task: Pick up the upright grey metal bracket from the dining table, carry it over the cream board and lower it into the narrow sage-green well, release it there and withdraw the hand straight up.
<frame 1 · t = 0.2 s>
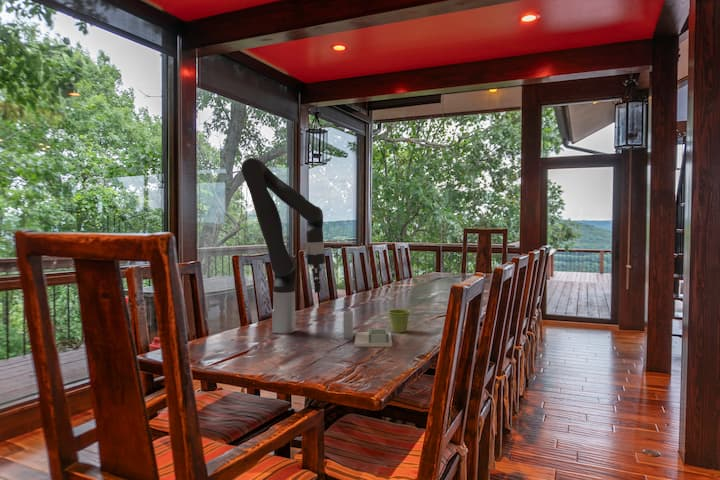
hand: (317, 291, 195), 17 cm above the table, tool pointing down, fingers open, 8 cm apart
well: (373, 340, 179), on the table
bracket: (348, 337, 186), on the table
plant pot: (399, 332, 195), on the table
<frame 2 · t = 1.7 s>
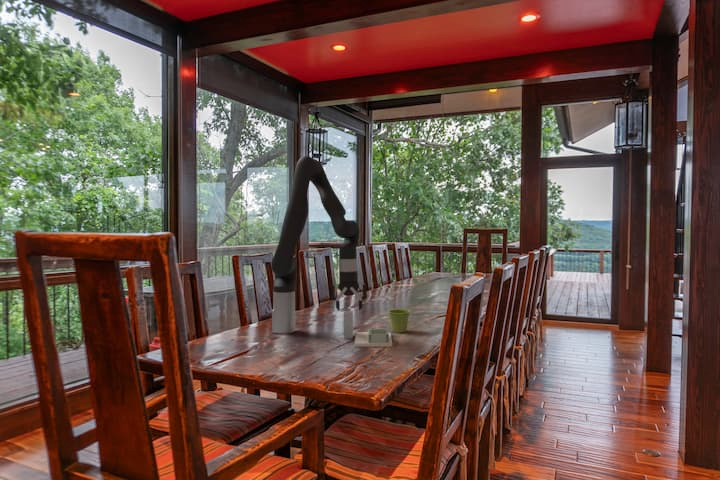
hand: (349, 310, 186), 11 cm above the table, tool pointing down, fingers open, 8 cm apart
nothing on the table moved.
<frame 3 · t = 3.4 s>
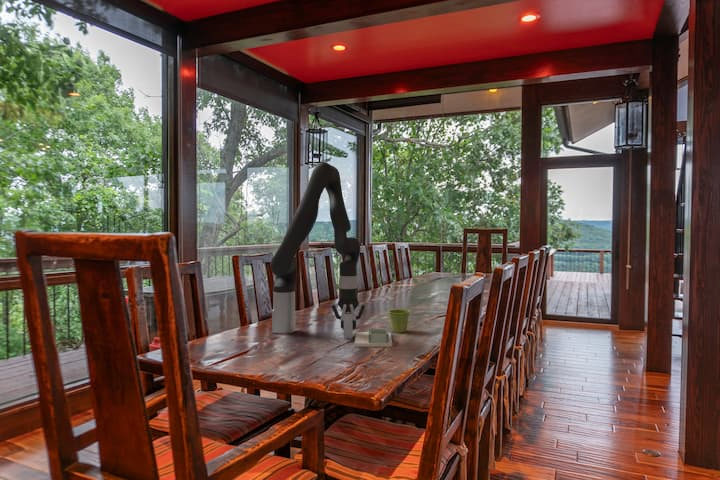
hand: (348, 329, 186), 3 cm above the table, tool pointing down, fingers closed on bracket, 3 cm apart
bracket: (348, 337, 186), on the table, touching gripper
everything else where it was.
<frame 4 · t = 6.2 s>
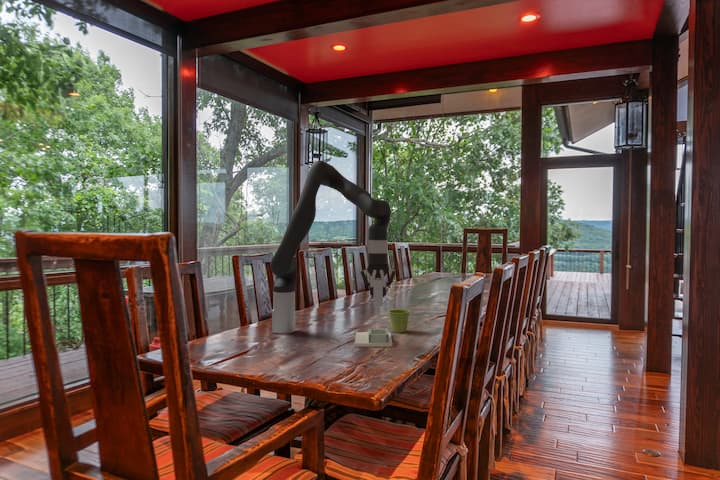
hand: (378, 296, 176), 18 cm above the table, tool pointing down, fingers closed on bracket, 3 cm apart
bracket: (378, 304, 176), point 14 cm above the table, touching gripper
everything else where it was.
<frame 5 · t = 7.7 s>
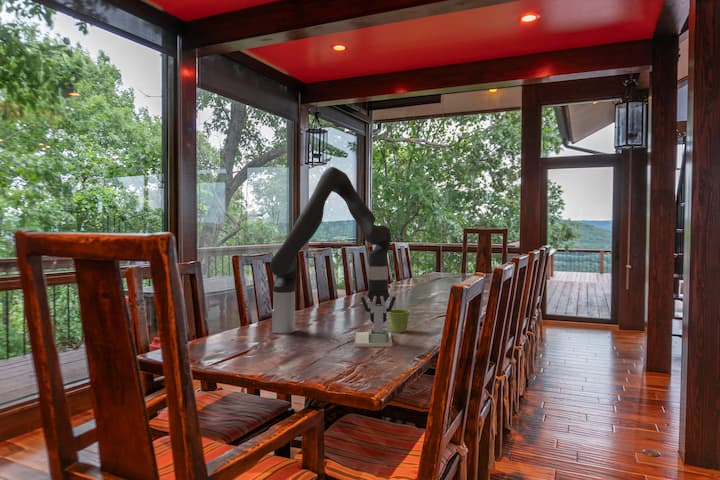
hand: (378, 322, 176), 8 cm above the table, tool pointing down, fingers closed on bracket, 3 cm apart
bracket: (378, 330, 176), point 5 cm above the table, touching gripper
everything else where it was.
when the fingers open (6 cm above the table, at t = 9.0 s): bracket drops 1 cm, resting on well.
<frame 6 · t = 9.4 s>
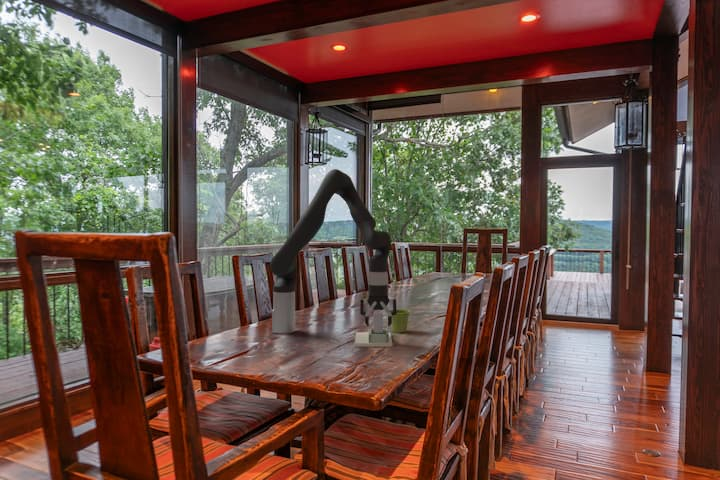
hand: (378, 325, 176), 6 cm above the table, tool pointing down, fingers open, 7 cm apart
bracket: (378, 339, 176), point 1 cm above the table, touching well
everything else where it was.
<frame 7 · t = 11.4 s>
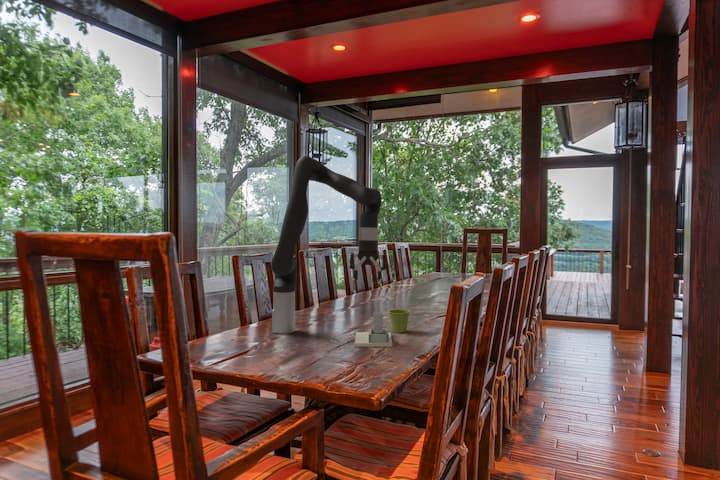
hand: (367, 280, 180), 23 cm above the table, tool pointing down, fingers open, 8 cm apart
nothing on the table moved.
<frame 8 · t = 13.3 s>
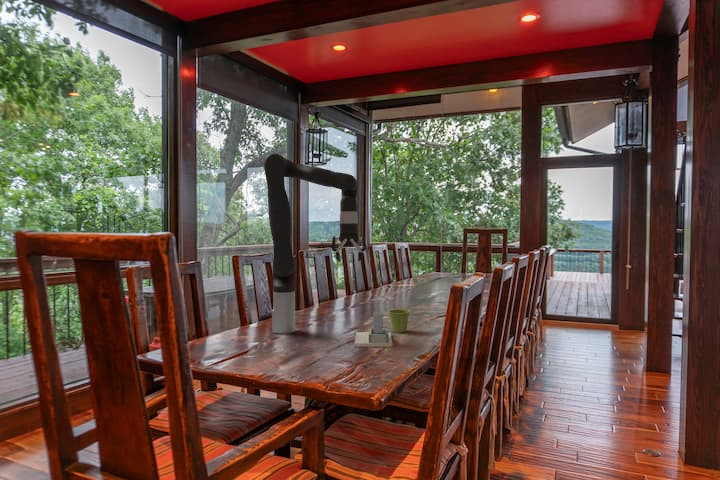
hand: (349, 261, 193), 30 cm above the table, tool pointing down, fingers open, 8 cm apart
nothing on the table moved.
at the end: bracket 0.1 cm from the target spot on the well, point 1.2 cm above the well's base; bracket tilted 0°; the gripper is holding nothing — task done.
